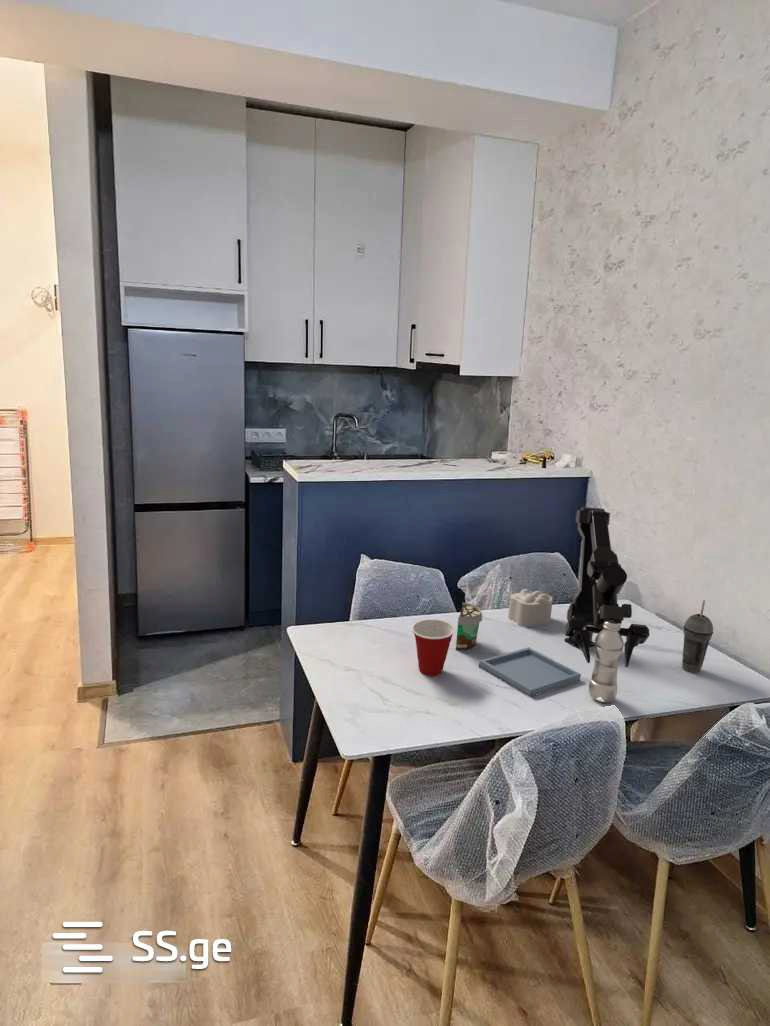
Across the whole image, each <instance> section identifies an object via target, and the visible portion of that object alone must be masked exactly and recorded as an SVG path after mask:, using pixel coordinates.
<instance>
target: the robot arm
mask: <svg viewBox="0 0 770 1026" xmlns="http://www.w3.org/2000/svg"><path fill="white" fill-rule="evenodd" d="M610 517H611V512H608V511H606V510H605V509H604V508H601V507H600V508H597V507H588V506H581V508H580V509H578V510H577V511H576V513H575V523H577V531H578V533H579V534H580V536H581V538H582V542H581V543H582V544H581V558H580V571H579V573H580V574H579V586H578V587H579V588H578V590H577V591H576V593H575V595H573V597H572V602H571V603H570V605H569V606H568V609H567V613H566V620H567V622H566V624H565V627H564V631H565V632H564V636H566V638H564V642H566V643H568V644H570V645H572V646H574V647H577V648H579V649H580V650H581V652H582V654H583V656H584V658H585V660H586V663H587V664H590V663H591V652H590V647H595V641H593V635H594V634H596V635H598V634H599V633H600V632H601V631H602V630H603V629H604V628H603V624H604V620H605V619H617V620H619V621H620V622H621V624H620V626H621V625H622V624H623V621H624V619H631V618H632V614H633V609H632V608H633V607H632V603H631V604H630V603H622V604H621V606H619V604H618V595H619V594H620V593H621V590H622V588H623V587H624V585H626V582H627V579H628V574H627V573H626V571H625V569H624V568H623V567H622V565H621V564H620V562H619V560H618V559H619V558H618V555H617V553H615V552H614V551H613V550H612V547H611V541H610V540H611V539H610V532H609V531H610V530H609V526H610V521H611V520H610ZM619 633H620V635H621V637H625V638H626V639H625V640H626V641H625V642H624V646H623V651H624V655H623V656H624V666H625V668H628V667H629V665H630V662H631V657H632V654H633V651H634V648H635V647H638V646H639V645H643V644H645V642H646V641H647V640H648V639H649V637H650V635H651V634H650V628H649V627H648V626H647V625H646V624H638V623H631V624H630V625H629V627H628V628H626V627H620V631H619Z"/></svg>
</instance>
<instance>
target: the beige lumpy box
mask: <svg viewBox="0 0 770 1026" xmlns="http://www.w3.org/2000/svg"><path fill="white" fill-rule="evenodd" d="M553 601H554V600H553V597H552V595H549V594H547V593H544V592H542V591H541V590H535V591H531V590H529V589H527V588H524V589H522V590H521V591H520V592H517V593H512V594H510V597H509V606H508V614H507V619H508V618H509V619H508V620H510V621H512V620H513V621H512V622H514V623H515V622H516V623H515V624H517V625H518V626H520V627H523V626H525V627H524V628H536V626H537V627H543V626H547V625H548V624H549V623H550V622H551V619H552V618H551V617H552V609H553Z"/></svg>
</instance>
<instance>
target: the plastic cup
mask: <svg viewBox="0 0 770 1026" xmlns="http://www.w3.org/2000/svg"><path fill="white" fill-rule="evenodd" d="M411 629H412V630H411V632H412V633H413V634H414V639H415V646H416V655H417V662H418V663H417V664H418V670H419V672H420V673H421V674H423V675H425V676H431V677H435V676H439V675H441V674H442V672H443V670H444V667H445V662H446V660H447V656H448V652H449V648H450V645H451V642H452V638H453V636H454V633H455V631H456V628H455V625H454V624H452V623H451V622H448V621H446V620H442V619H437V618H436V619H434V618H432V619H431V618H429V619H428V618H427V619H426V618H425V619H422V620H418V621H417V622H415V623H413V625H412V626H411Z"/></svg>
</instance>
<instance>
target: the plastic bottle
mask: <svg viewBox="0 0 770 1026" xmlns="http://www.w3.org/2000/svg"><path fill="white" fill-rule="evenodd" d="M620 624H621V625H622V623H621V622H620V621H619V620H617V619H605V620H604V624H603V628H604V629H603V630H602V631H601V632H600V633H599V634H596V637H595V639H594V642H595V645H594V653H595V654H594V664H593V665H594V666H593V669H592V674H591V678H590V680H589V684H588V693H589V695H590V698H592V699H593V700H595V701H597V700H596V699H597V698H598V697H601V698H602V699H603V700H604V701H605V702H604V703H612V702H613V701H614V700H615V699H616V698H617V693H618V683H617V682H618V669H619V663H620V659H621V656H622V652H623V650H624V644H625V642H624V639H623V636H621V635H620V633H619V631H620V628H621V625H620Z"/></svg>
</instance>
